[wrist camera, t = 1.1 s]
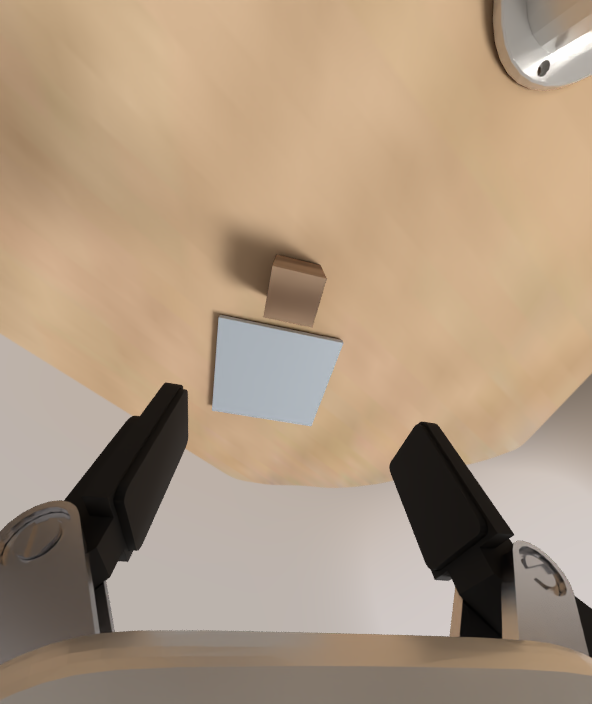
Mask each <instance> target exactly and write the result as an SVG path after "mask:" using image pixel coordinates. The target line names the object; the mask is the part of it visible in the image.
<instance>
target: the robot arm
mask: <svg viewBox="0 0 592 704" xmlns="http://www.w3.org/2000/svg"><path fill="white" fill-rule="evenodd" d="M493 28H494V38H495V44H496V48H497V51H498V55H499V58H500V61H501V62H502V64H503V66H504V68H505V70H506V71H507V73H508V74H509V75H510V76H511V77H512V78H513V79H514V80H515V81H516V82H517V83H518V84H520V85H522V86H524V87H526V88H528V89H533V90H540V91H547V90H554V89H560V88H562V87H565V86H568V85H571V84H573V83H576V82H578V81H580V80H582V79H584V78H586V77H588V76H590V75H592V0H494V7H493ZM187 441H188V392H187V390H185V389H183V386H182V385H178V384H171V383H164V385H163V386H162V387H161V388H160V390H159V391H158V392H157V394H156V395H155V397H154V398H153V399H152V401H151V402H150V403H149V405H148V406H147V407H146V409H145V410H144V411H143V413H142V414H141V416H132V417H130V418H129V419H128V420H127V421H126V422H125V424H124V425H123V426H122V427H121V429H120V430H119V431H118V433H117V434H116V435H115V436H114V438H113V439H112V440H111V442H110V443H109V444H108V445H107V447H106V448H105V449H104V451H103V452H102V453H101V454H100V456H99V457H98V458H97V459H96V461H95V462H94V463H93V464H92V466H91V467H90V468H89V469H88V471H87V472H86V473H85V475H84V476H83V477H82V479H81V480H80V481H79V482H78V483H77V485H76V486H75V487H74V489H73V490H72V491H71V492H70V494H69V495H68V496H67V498H66V499H65V500H64V501H62V500H61V501H60V500H59V501H51V502H47V503H43V504H40V505H37V506H35V507H33V508H31V509H29V510H27V511H25V512H23V513H22V514H20V515H19V516H17V517H16V518H15V519H13V520H12V521H11V522H9V523H8V524H7V525H6V526H5V527H4V528H3V529H2V530H1V531H0V704H592V609H591V608H590V607H588V606H587V605H586V604H585V603H583V602H582V601H580V600H579V599H578V598H577V597H575V596H574V593H573V590H572V587H571V585H570V583H569V581H568V579H567V578H566V576H565V575H564V573H563V572H562V571H561V569H560V568H559V567H558V566H557V564H556V563H555V562H554V561H553V560H552V559H551V558H550V557H549V556H548V555H547V554H545V553H544V552H543V551H541V550H540V549H539V548H537V547H536V546H534V545H532V544H531V543H528V542H525V541H516V542H514V543H513V544H512V542H511V541H510V539H509V538H510V537H512V536H513V535H514V534H513V532H512V531H511V529H510V528H509V526H508V525H507V523H506V522H505V521H504V519H503V518H502V516H501V515H500V514H499V512H498V511H497V509H496V508H495V506H494V505H493V503H492V502H491V501H490V499H489V498H488V496H487V495H486V493H485V492H484V491H483V489H482V488H481V486H480V485H479V483H478V482H477V481H476V479H475V478H474V476H473V475H472V473H471V472H470V470H469V469H468V468H467V466H466V465H465V463H464V462H463V460H462V459H461V457H460V456H459V455H458V453H457V452H456V450H455V449H454V447H453V446H452V444H451V443H450V442H449V440H448V439H447V437H446V436H445V434H444V433H443V432H442V430H441V429H440V427H439V426H438V425H437V424H435V423H428V422H420V423H419V424H417V425H415V427H414V428H413V430H412V431H411V433H410V434H409V436H408V437H407V439H406V440H405V442H404V443H403V445H402V446H401V448H400V449H399V451H398V452H397V454H396V455H395V457H394V458H393V460H392V461H391V463H390V472H391V475H392V478H393V480H394V483H395V485H396V488H397V491H398V493H399V495H400V498H401V501H402V504H403V506H404V509H405V511H406V514H407V517H408V519H409V522H410V524H411V527H412V529H413V532H414V535H415V537H416V540H417V542H418V545H419V548H420V550H421V553H422V555H423V558H424V560H425V563H426V565H427V566H428V568H430V569H431V571H432V574H433V576H434V579H435V580H446V581H448V580H451V579H452V580H453V582H454V585H455V595H454V603H453V612H452V620H451V629H450V637H444V636H413V635H379V634H341V633H301V632H254V631H126V632H115V630H114V624H113V618H112V613H111V607H110V601H109V595H108V590H107V584H106V580H107V579H108V578H109V577H110V576H111V574H112V572H113V570H114V568H115V566H116V564H117V562H118V561H127V562H128V561H129V559H130V556H131V554H132V552H133V550H136V551H137V550H139V549H140V547H141V546H142V544H143V541H144V539H145V537H146V535H147V533H148V530H149V528H150V526H151V524H152V522H153V519H154V517H155V514H156V513H157V510H158V508H159V506H160V504H161V501H162V499H163V497H164V495H165V492H166V490H167V488H168V486H169V484H170V481H171V479H172V477H173V474H174V472H175V470H176V468H177V466H178V463H179V461H180V459H181V457H182V454H183V452H184V450H185V448H186V445H187Z"/></svg>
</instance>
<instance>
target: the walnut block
mask: <svg viewBox="0 0 592 704" xmlns="http://www.w3.org/2000/svg"><path fill="white" fill-rule="evenodd" d="M326 280H327V278H326V276H325V274H324V272H323V270H322V267H321V265H318V264H314V263H310V262H306V261H302V260H298V259H294V258H289V257H285V256H281V255H276V258H275V260H274V263H273V266H272V271H271V277H270V283H269V288H268V294H267V300H266V305H265V311H264V317H265V318H270V319H275V320H279V321H284V322H289V323H293V324H298V325H303V326H308V327H313V323H314V320H315V317H316V313H317V310H318V307H319V303H320V300H321V296H322V293H323V290H324V286H325V283H326Z"/></svg>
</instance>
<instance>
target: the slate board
mask: <svg viewBox="0 0 592 704" xmlns="http://www.w3.org/2000/svg"><path fill="white" fill-rule="evenodd" d="M342 345H343V341H342V340H339V339H334V338H330V337H325V336H320V335H315V334H310V333H306V332H301V331H296V330H291V329H286V328H282V327H277V326H272V325H267V324H262V323H258V322H253V321H248V320H243V319H239V318H234V317H229V316H224V315H220V316H219V320H218V334H217V348H216V362H215V376H214V390H213V404H212V411H218V412H225V413H231V414H237V415H244V416H250V417H256V418H263V419H269V420H275V421H282V422H288V423H294V424H301V425H307V426H312V423H313V420H314V418H315V415H316V413H317V410H318V407H319V405H320V402H321V400H322V397H323V394H324V392H325V389H326V387H327V384H328V382H329V379H330V376H331V374H332V371H333V369H334V366H335V363H336V361H337V358H338V356H339V353H340V351H341V348H342Z"/></svg>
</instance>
